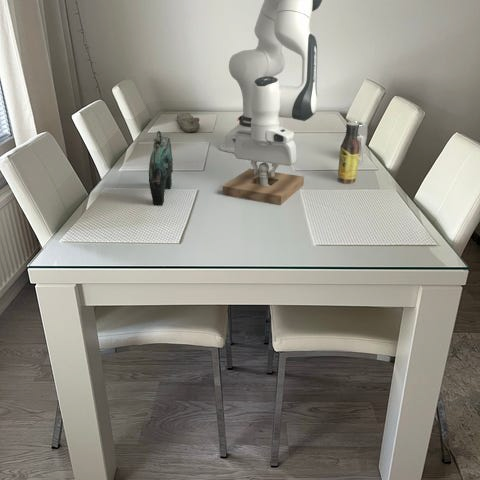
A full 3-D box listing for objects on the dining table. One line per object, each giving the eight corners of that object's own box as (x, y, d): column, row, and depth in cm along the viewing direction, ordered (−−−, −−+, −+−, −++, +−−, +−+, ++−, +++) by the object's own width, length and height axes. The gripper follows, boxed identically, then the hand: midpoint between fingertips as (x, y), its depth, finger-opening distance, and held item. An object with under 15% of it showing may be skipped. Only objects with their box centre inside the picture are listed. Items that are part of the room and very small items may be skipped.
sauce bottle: (335, 178, 171) (340, 120, 163) (352, 177, 172) (358, 120, 163) (340, 184, 165) (345, 125, 157) (358, 184, 166) (364, 125, 157)
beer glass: (364, 166, 184) (368, 125, 177) (345, 165, 185) (348, 125, 179) (363, 160, 190) (368, 121, 183) (345, 159, 191) (349, 120, 185)
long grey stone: (193, 120, 263) (174, 122, 261) (192, 110, 260) (173, 112, 259) (203, 131, 231) (182, 134, 229) (202, 120, 229) (180, 122, 227)
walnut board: (222, 195, 157) (222, 186, 156) (249, 176, 173) (249, 168, 172) (280, 205, 149) (281, 195, 148) (303, 185, 165) (303, 176, 164)
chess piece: (269, 193, 158) (269, 165, 155) (253, 191, 160) (253, 164, 156) (273, 188, 163) (274, 161, 159) (258, 186, 165) (258, 160, 161)
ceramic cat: (159, 184, 167) (154, 125, 158) (178, 184, 167) (174, 125, 158) (147, 206, 149) (141, 141, 140) (168, 206, 149) (164, 141, 140)
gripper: (230, 131, 155) (231, 173, 161) (291, 138, 147) (289, 182, 153) (239, 126, 160) (239, 167, 166) (299, 133, 152) (297, 176, 158)
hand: (264, 175), depth 159 cm, fingers open, 4 cm apart
